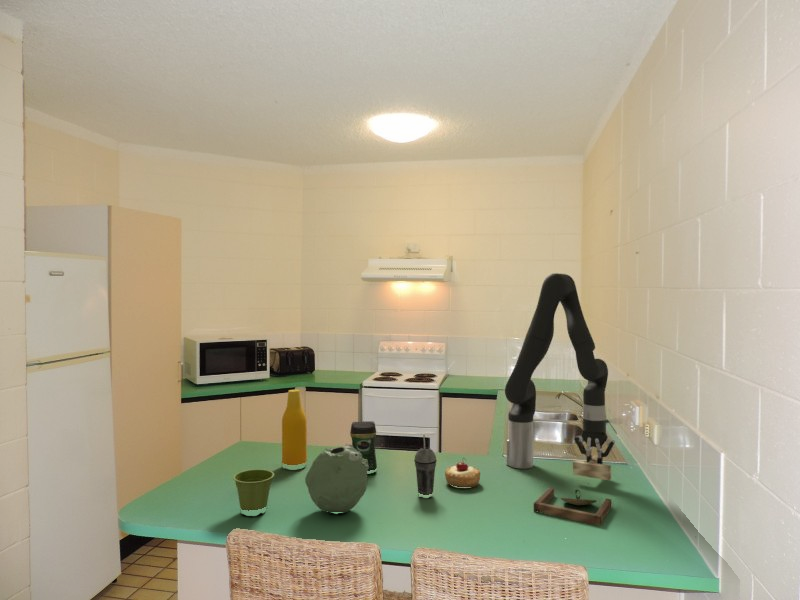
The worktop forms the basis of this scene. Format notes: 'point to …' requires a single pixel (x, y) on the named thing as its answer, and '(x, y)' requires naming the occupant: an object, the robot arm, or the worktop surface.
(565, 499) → the lid
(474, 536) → the worktop surface
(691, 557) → the worktop surface
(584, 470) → the wooden pusher
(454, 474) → the pastry
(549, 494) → the walnut bay
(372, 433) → the coffee jar
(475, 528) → the worktop surface
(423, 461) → the beverage cup
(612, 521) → the worktop surface
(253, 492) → the plant pot
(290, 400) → the beer bottle
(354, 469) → the round grey vase
